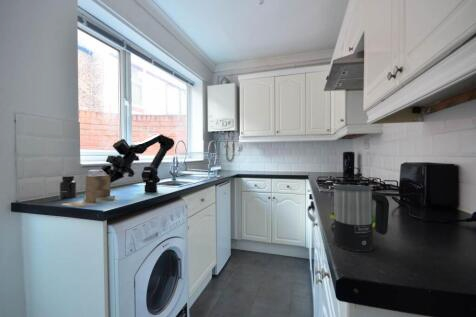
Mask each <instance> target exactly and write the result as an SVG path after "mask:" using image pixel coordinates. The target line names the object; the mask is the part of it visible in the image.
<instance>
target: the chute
mask: <svg viewBox="0 0 476 317" xmlns="http://www.w3.org/2000/svg"><path fill="white" fill-rule="evenodd" d="M120 200H122V199H121V198H116V195H110V196H107V197H101V198H96V203H91V202H86V196H84V197H83V200H79V201H73V202H66V203H61V204H60V205H62V206H68V207H73V208H74V207H76V208H85V207H90V206H95V205H100V204H105V203H106V204H107V203H110V202H115V201H120Z"/></svg>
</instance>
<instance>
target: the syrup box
mask: <svg viewBox="0 0 476 317" xmlns="http://www.w3.org/2000/svg"><path fill="white" fill-rule="evenodd" d="M93 175H105V172H104V171H103V170H102V169H89V170H88V176H93Z"/></svg>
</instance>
